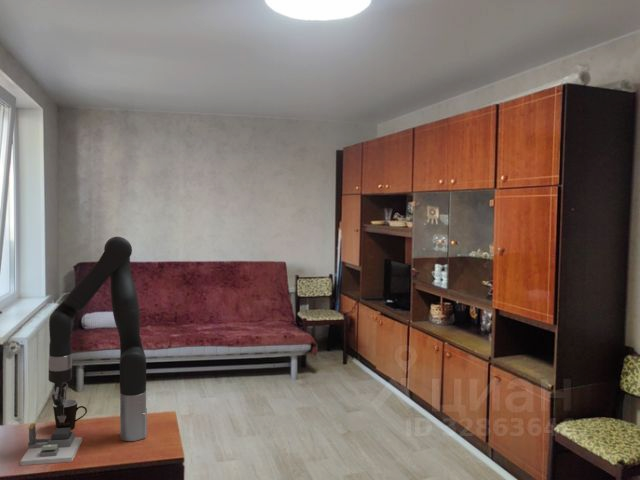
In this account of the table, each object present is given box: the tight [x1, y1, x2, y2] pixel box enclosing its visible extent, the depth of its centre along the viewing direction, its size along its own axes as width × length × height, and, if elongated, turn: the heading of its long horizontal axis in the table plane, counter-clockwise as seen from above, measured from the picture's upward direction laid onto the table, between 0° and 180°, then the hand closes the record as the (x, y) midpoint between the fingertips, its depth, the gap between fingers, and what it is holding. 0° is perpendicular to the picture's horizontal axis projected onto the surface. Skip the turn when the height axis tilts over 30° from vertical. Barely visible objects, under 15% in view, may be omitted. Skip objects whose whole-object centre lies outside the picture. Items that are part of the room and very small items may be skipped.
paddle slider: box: [27, 422, 38, 447], centre depth 196 cm, size 2×3×7 cm, turn 12°
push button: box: [51, 427, 72, 441], centre depth 198 cm, size 5×5×3 cm
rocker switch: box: [41, 444, 57, 450], centre depth 190 cm, size 4×3×1 cm, turn 102°
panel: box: [20, 431, 83, 466], centre depth 194 cm, size 16×16×4 cm
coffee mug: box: [52, 398, 88, 431], centre depth 213 cm, size 12×9×10 cm
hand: (60, 414), depth 197 cm, fingers closed
